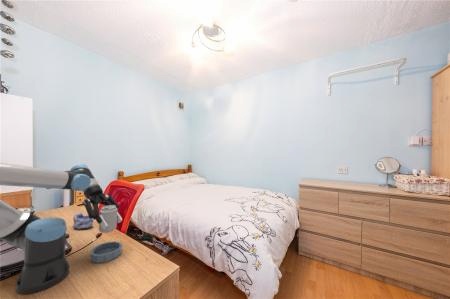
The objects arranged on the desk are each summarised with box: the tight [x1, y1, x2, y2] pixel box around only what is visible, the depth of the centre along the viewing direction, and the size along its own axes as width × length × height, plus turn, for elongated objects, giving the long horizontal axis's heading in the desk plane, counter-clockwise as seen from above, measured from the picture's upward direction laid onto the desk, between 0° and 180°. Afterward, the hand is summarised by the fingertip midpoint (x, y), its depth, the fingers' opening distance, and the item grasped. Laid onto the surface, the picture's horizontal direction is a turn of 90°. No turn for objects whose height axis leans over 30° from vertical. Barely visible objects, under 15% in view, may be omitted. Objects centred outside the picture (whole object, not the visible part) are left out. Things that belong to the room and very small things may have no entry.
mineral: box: [72, 212, 94, 230], centre depth 118 cm, size 14×10×10 cm
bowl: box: [89, 240, 123, 264], centre depth 88 cm, size 13×13×4 cm
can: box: [98, 205, 118, 234], centre depth 88 cm, size 8×8×12 cm
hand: (113, 224), depth 87 cm, fingers closed on can, 7 cm apart
